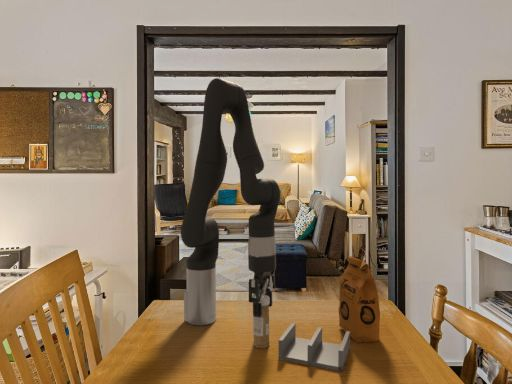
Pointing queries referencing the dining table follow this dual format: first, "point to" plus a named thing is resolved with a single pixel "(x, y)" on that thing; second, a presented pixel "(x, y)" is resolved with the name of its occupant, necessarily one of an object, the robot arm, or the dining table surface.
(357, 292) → the coffee package
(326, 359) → the bottle rack
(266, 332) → the sprinkles bottle
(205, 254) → the robot arm
